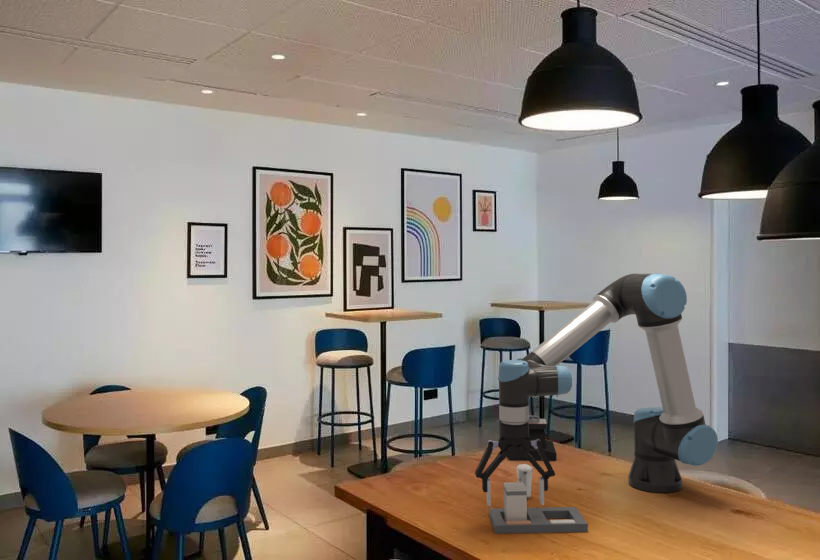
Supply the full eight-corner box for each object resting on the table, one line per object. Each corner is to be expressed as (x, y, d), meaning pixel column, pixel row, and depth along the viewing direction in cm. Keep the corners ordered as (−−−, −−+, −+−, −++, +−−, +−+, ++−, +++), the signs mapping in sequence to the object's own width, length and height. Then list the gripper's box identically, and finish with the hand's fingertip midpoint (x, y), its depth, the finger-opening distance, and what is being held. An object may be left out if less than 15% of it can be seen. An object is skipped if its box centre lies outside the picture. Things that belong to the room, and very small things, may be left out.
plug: (523, 520, 178) (523, 482, 178) (527, 527, 173) (526, 488, 173) (504, 520, 178) (503, 482, 178) (507, 528, 173) (506, 488, 173)
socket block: (575, 514, 182) (575, 505, 182) (587, 531, 170) (587, 522, 170) (489, 516, 182) (489, 507, 182) (495, 533, 170) (495, 524, 170)
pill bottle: (535, 499, 194) (535, 464, 194) (516, 498, 195) (516, 463, 195) (535, 494, 199) (535, 459, 198) (517, 493, 200) (516, 459, 200)
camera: (508, 422, 232) (506, 409, 247) (509, 463, 234) (507, 448, 249) (556, 423, 230) (551, 409, 245) (556, 464, 232) (551, 448, 247)
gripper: (559, 417, 179) (560, 497, 180) (464, 418, 179) (465, 499, 179) (566, 423, 172) (567, 507, 172) (466, 425, 172) (468, 509, 172)
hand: (515, 503), depth 176 cm, fingers open, 13 cm apart
